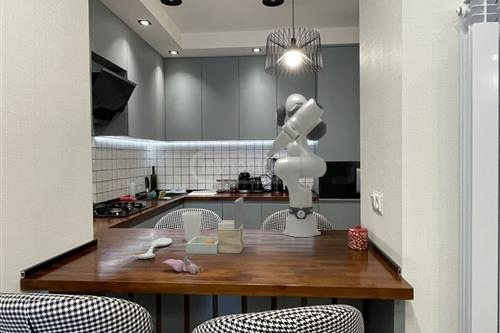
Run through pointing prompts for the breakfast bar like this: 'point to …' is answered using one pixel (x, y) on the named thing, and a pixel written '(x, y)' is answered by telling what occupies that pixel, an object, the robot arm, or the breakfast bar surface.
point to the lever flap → (238, 217)
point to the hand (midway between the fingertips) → (268, 156)
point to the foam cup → (192, 224)
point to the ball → (210, 241)
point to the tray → (202, 246)
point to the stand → (230, 241)
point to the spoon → (155, 243)
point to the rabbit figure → (183, 265)
